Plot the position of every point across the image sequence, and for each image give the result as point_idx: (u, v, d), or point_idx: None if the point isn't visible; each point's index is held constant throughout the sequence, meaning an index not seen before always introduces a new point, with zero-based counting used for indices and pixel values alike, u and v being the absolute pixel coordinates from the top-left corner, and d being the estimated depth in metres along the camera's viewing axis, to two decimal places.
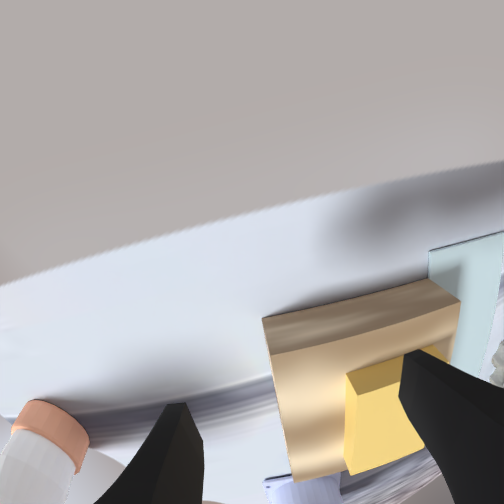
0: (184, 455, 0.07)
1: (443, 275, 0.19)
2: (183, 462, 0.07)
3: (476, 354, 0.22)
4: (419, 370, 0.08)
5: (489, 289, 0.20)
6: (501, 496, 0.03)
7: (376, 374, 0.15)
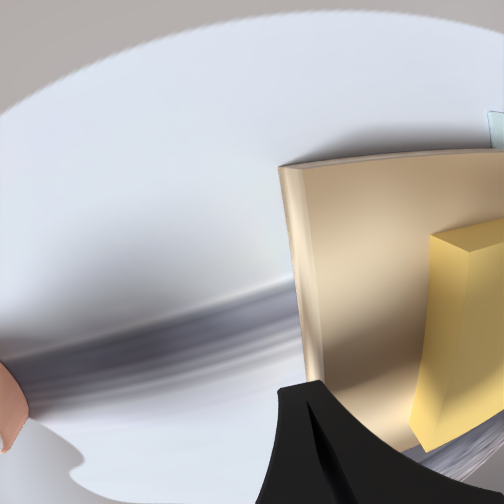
0: None
1: None
2: None
3: None
4: (307, 405, 0.08)
5: None
6: None
7: (479, 232, 0.08)
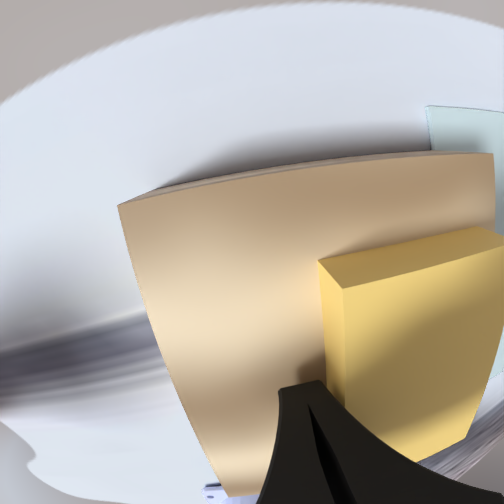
0: None
1: (455, 149, 0.11)
2: None
3: None
4: None
5: None
6: None
7: (383, 258, 0.08)
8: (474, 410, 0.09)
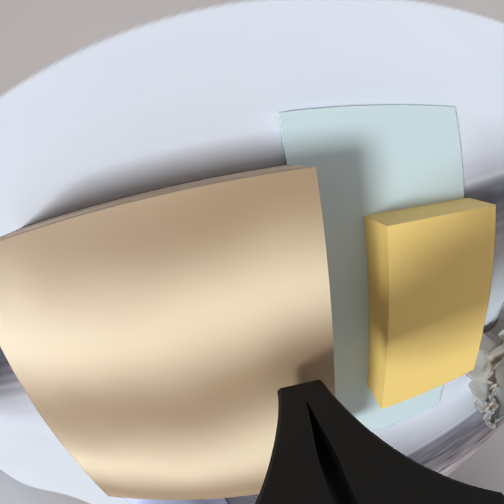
0: None
1: (320, 160, 0.11)
2: None
3: None
4: (307, 405, 0.08)
5: None
6: None
7: (460, 205, 0.11)
8: None
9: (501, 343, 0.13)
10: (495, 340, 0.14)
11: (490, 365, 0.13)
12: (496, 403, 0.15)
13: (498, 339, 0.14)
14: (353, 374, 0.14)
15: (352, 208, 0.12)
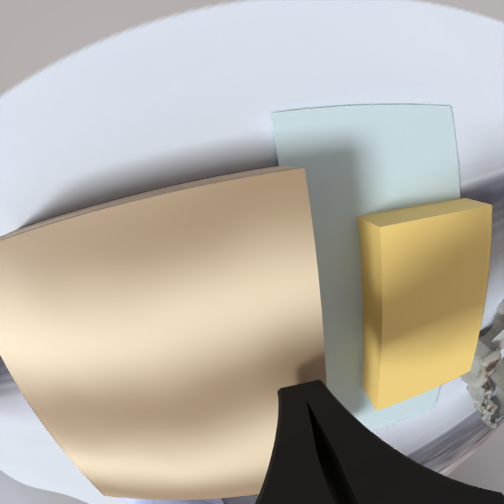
0: None
1: (313, 160, 0.11)
2: None
3: None
4: (307, 405, 0.08)
5: None
6: None
7: (456, 205, 0.11)
8: None
9: (495, 349, 0.13)
10: (490, 345, 0.14)
11: (485, 371, 0.13)
12: (495, 404, 0.15)
13: (493, 343, 0.14)
14: (348, 375, 0.14)
15: (345, 209, 0.12)
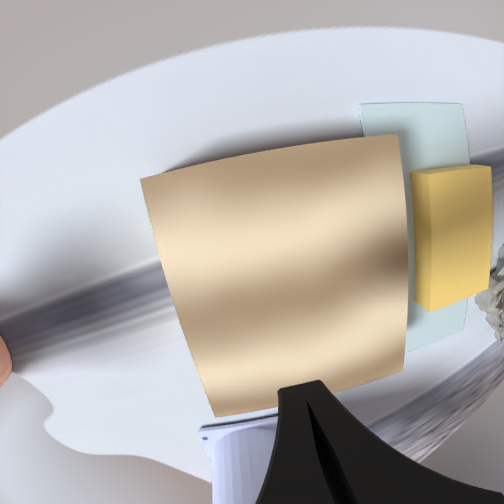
0: None
1: None
2: None
3: None
4: (307, 405, 0.08)
5: None
6: None
7: (468, 167, 0.16)
8: None
9: (501, 280, 0.18)
10: (497, 279, 0.19)
11: (495, 297, 0.18)
12: None
13: (499, 278, 0.19)
14: None
15: (402, 166, 0.17)
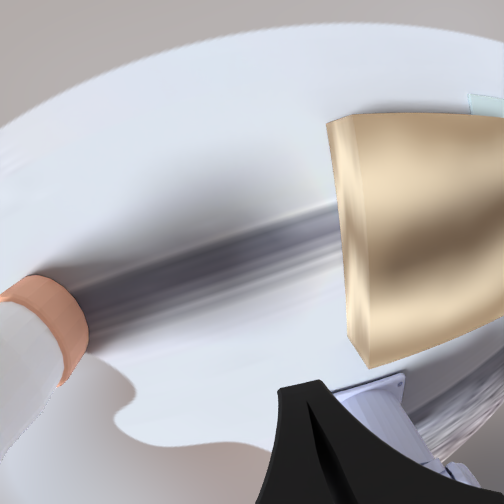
0: None
1: None
2: None
3: None
4: (307, 405, 0.08)
5: None
6: None
7: None
8: None
9: None
10: None
11: None
12: None
13: None
14: None
15: None
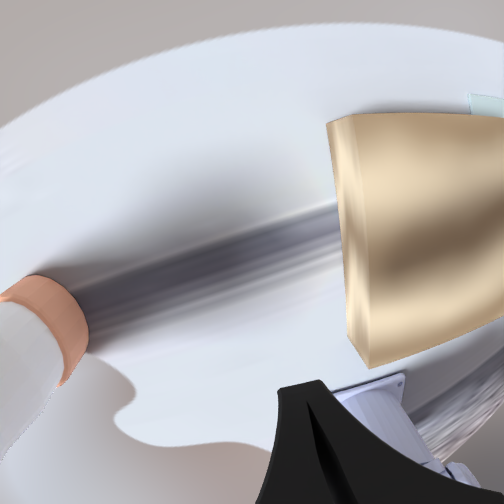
0: None
1: None
2: None
3: None
4: (307, 405, 0.08)
5: None
6: None
7: None
8: None
9: None
10: None
11: None
12: None
13: None
14: None
15: None
